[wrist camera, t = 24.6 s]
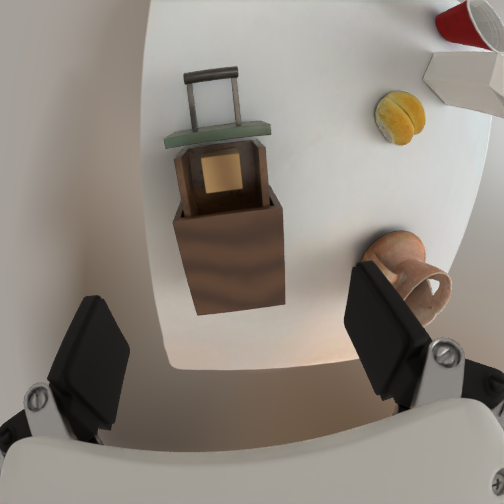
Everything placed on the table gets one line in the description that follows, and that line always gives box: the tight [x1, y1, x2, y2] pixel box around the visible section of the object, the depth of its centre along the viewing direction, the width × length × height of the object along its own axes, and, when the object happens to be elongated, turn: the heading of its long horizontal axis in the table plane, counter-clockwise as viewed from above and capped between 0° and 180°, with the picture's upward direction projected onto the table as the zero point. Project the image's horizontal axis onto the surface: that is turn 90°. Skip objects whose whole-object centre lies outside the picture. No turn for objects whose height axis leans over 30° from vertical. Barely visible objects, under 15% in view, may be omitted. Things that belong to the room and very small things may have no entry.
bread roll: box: [375, 91, 425, 145], centre depth 32 cm, size 8×9×4 cm
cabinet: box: [173, 185, 285, 315], centre depth 38 cm, size 15×13×9 cm
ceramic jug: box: [361, 231, 452, 327], centre depth 41 cm, size 18×14×14 cm
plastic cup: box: [435, 0, 504, 54], centre depth 19 cm, size 11×11×12 cm
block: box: [201, 148, 243, 193], centre depth 32 cm, size 4×4×4 cm
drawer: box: [164, 66, 271, 218], centre depth 31 cm, size 21×11×7 cm, turn 5°
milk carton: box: [423, 52, 504, 118], centre depth 22 cm, size 7×7×19 cm
